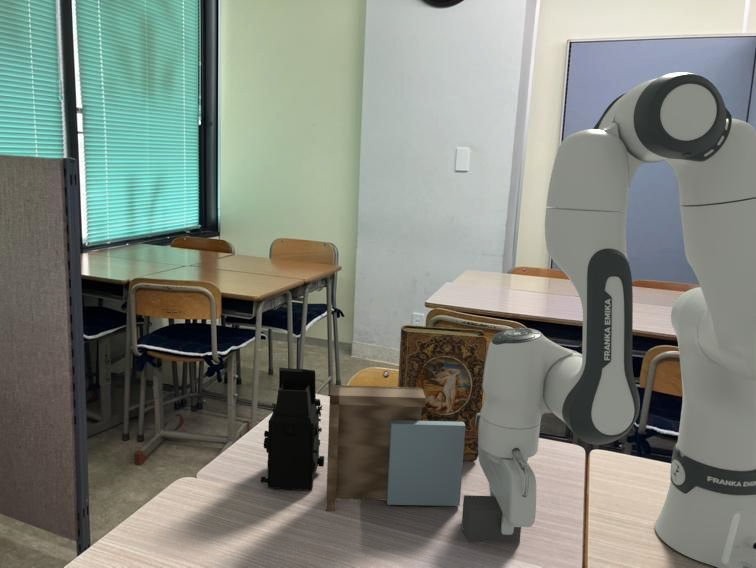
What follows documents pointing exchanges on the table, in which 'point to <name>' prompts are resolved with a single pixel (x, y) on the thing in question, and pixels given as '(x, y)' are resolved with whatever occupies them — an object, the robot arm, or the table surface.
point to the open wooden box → (364, 438)
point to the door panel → (425, 462)
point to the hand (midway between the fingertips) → (501, 520)
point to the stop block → (484, 520)
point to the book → (446, 375)
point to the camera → (294, 432)
